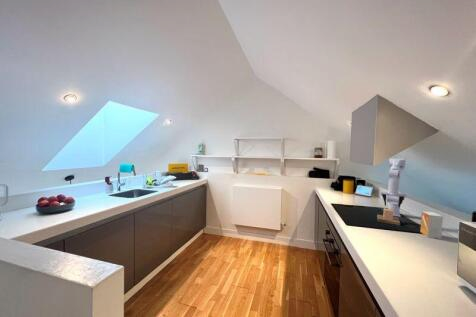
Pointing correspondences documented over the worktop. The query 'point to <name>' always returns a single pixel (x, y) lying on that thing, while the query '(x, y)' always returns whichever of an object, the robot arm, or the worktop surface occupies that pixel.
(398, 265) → the worktop surface
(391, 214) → the terracotta block
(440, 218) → the small box
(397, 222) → the tan board
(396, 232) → the worktop surface
